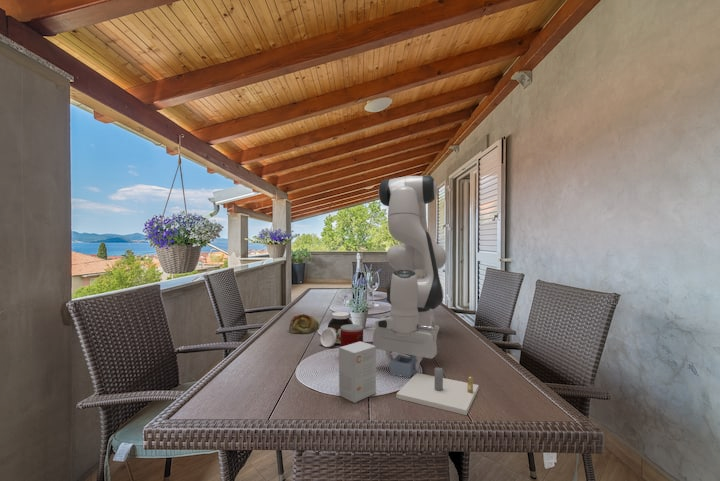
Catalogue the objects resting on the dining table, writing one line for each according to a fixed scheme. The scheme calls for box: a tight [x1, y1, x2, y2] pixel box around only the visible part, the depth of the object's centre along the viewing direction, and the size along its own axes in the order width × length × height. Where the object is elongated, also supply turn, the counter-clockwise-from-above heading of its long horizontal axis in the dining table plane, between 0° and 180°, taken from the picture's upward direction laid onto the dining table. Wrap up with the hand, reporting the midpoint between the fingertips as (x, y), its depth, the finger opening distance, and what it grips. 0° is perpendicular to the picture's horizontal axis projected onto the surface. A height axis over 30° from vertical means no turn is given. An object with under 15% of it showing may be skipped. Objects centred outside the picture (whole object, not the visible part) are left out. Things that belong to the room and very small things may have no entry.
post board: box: [396, 366, 479, 416], centre depth 94 cm, size 16×18×7 cm
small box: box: [338, 341, 377, 404], centre depth 94 cm, size 8×6×13 cm
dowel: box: [467, 375, 474, 393], centre depth 93 cm, size 1×1×4 cm
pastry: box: [288, 314, 320, 335], centre depth 157 cm, size 14×12×8 cm
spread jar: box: [320, 311, 354, 348], centre depth 137 cm, size 12×11×12 cm
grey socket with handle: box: [389, 354, 418, 379], centre depth 111 cm, size 12×6×5 cm, turn 151°
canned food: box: [339, 323, 364, 347], centre depth 121 cm, size 8×8×11 cm
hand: (403, 367), depth 109 cm, fingers closed on grey socket with handle, 6 cm apart
